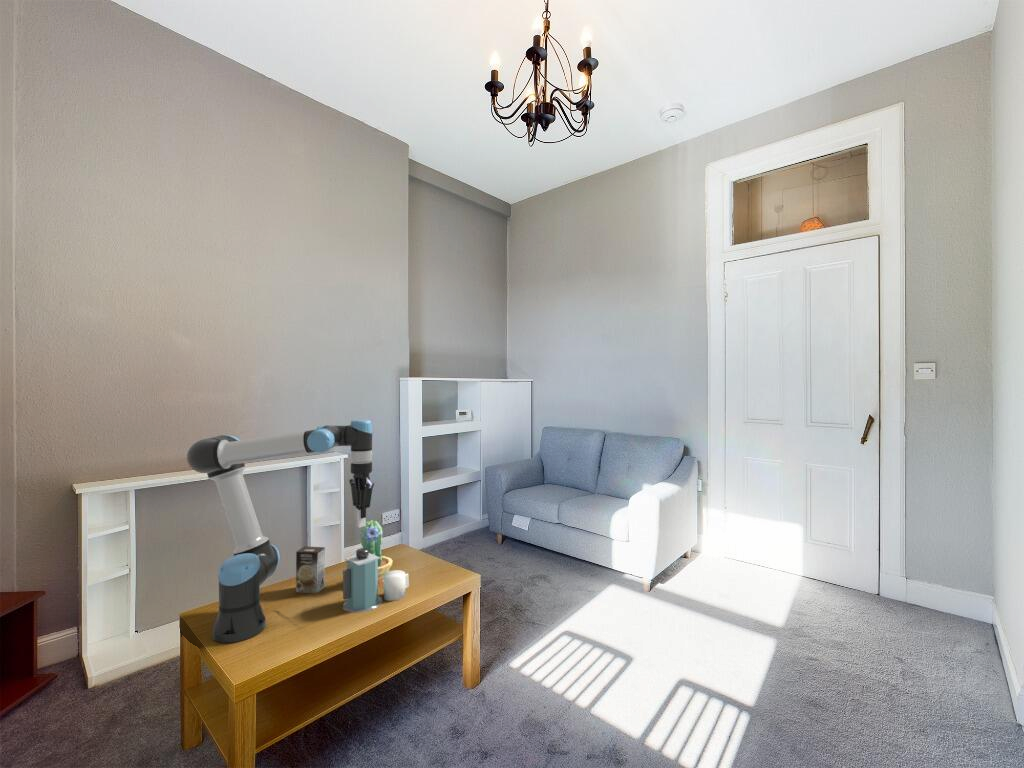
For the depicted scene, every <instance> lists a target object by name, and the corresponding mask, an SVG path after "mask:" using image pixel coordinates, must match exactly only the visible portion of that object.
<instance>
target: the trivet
mask: <svg viewBox="0 0 1024 768" xmlns="http://www.w3.org/2000/svg"><path fill="white" fill-rule="evenodd" d="M383 600H384V599H383V598H382V597H381V596H380V595H378V601H377V603H376V605H375V606H372V607H370V608H367V609H362V610H353V609H351V608H349V607H348V606H347V600H346V601H344V602H343V604H342V609H343V610H344V611H346V612H350V613H365V612H368V611H369V612H370V611H373V610H375V609H376V608H379V607H380V606H381V605H382V604H383Z"/></svg>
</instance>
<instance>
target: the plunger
mask: <svg viewBox="0 0 1024 768" xmlns="http://www.w3.org/2000/svg"><path fill="white" fill-rule="evenodd" d="M355 555H356V557H358V558H361V560H363V559H364V557H367V556H369V549H368V548H363V547H361V548H358V549H356V550H355Z"/></svg>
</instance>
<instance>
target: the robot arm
mask: <svg viewBox="0 0 1024 768" xmlns="http://www.w3.org/2000/svg"><path fill="white" fill-rule="evenodd" d="M335 447H350V462H351V463H350V473H351V474H352V476H353V477H352V478H350V479H349V480H348V481H349V485H350V490H351V491H350V492H351V498H352V505H353V506H354V507H355V509H356V527H357V528H363V527H364V526H366V522H367V519H366V517H367V509H369V508H370V507H371V502H372V494H373V488H374V486H375V483H374V482H371V478H370V474H371V473H372V471H373V462H372V461H373V425H372V421H371V420H370V419H352V420H351V421H350V425H349V424H348V425H319V426H317V427H316V429H309V430H303V431H298V432H291V433H282V434H277V435H269V436H262V437H254V438H247V439H239V438H238V437H236V436H233V435H229V434H228V435H225V434H223V435H216V436H214V437H209V438H208V437H207V438H202V439H200V440H198V441H196V442H195V443H193V444H192V445H191V446H190V447H189V449H188V451H187V454H186V460H187V461H186V462H187V464H188V466H189V467H190V469H192V470H193V471H195V472H197V473H201V474H207V478H208V480H211V481H212V482H213V481H214V483H215V486H216V488H217V491H218V494H219V497H220V500H221V504H222V507H223V509H224V513H225V516H226V519H227V521H228V525H229V528H230V531H231V533H232V534H231V535H232V537H233V540H234V543H235V548H234V550H233V552H232V553H233V556H230V557H229V558H226V559H225V560H224V561H223V562H222V563H221V564H220V566H219V568H218V575H217V579H218V613H217V616H216V619H215V622H214V625H213V628H212V639H213V641H214V642H216V643H220V642H221V643H222V644H229V643H236V642H237V643H238V642H241V641H245V640H248V639H251V638H253V637H255V636H257V635H258V634H260V633H262V632H263V630H264V629H266V626H267V620H266V615H265V613H264V610H263V607H262V605H261V602H260V599H261V595H260V594H261V589H260V587H261V585H262V584H263V583H264V582H265V581H266V580H268V578H270V577H271V576H272V575H274V573H275V571H276V570H277V568H278V567H279V564H280V561H281V560H280V559H281V556H280V554H281V553H280V552H279V549H278V548H277V547H276V545H274V544H271V541H270V538H269V537H267V536H265V535H263V533H262V530H261V526H260V523H259V520H258V518H257V514H256V511H255V508H254V504H253V501H252V499H251V497H250V492H249V489H248V487H247V484H246V480H245V478H244V475H243V472H244V471H245V468H246V465H245V464H246V463H252V462H253V463H254V462H258V461H264V460H266V461H267V460H272V459H277V458H278V459H279V458H284V457H291V456H298V455H304V454H312V453H313V454H314V453H325V452H327V451H330V450H331V449H333V448H335ZM221 643H220V644H221Z"/></svg>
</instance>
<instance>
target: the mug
mask: <svg viewBox="0 0 1024 768" xmlns="http://www.w3.org/2000/svg"><path fill="white" fill-rule="evenodd" d="M409 575H410V574H409V573H406V572H405V571H404V570H400V569H399V570H398V569H397V570H396V569H395V570H389V571H388V572H386V573H385V574H384V580H383V600H385V601H388V602H395V601H399V600H402V599H404V598H405V597H406V589H407V588H409V587H410V581H409V580H410V579H409V577H410V576H409Z"/></svg>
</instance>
